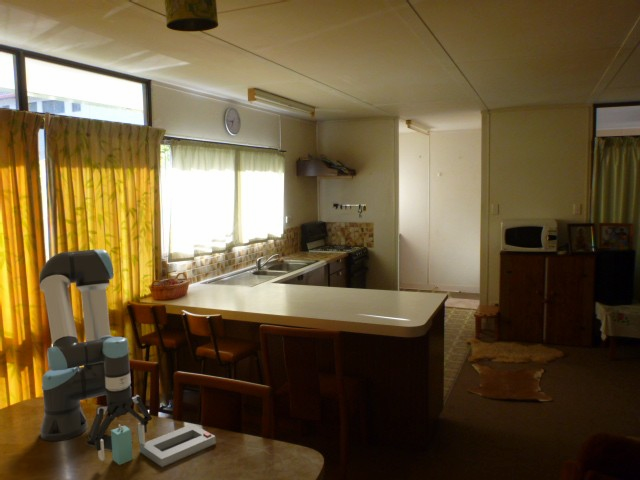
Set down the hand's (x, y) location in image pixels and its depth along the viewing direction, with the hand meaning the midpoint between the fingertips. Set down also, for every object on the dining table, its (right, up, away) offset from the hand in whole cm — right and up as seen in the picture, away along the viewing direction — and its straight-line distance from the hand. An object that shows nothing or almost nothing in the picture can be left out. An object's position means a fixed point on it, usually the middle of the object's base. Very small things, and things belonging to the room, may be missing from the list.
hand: (122, 451), depth 169 cm
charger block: (0, -3, 0) cm, 3 cm away
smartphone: (-9, -2, +12) cm, 15 cm away
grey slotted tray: (+16, -2, +7) cm, 18 cm away
